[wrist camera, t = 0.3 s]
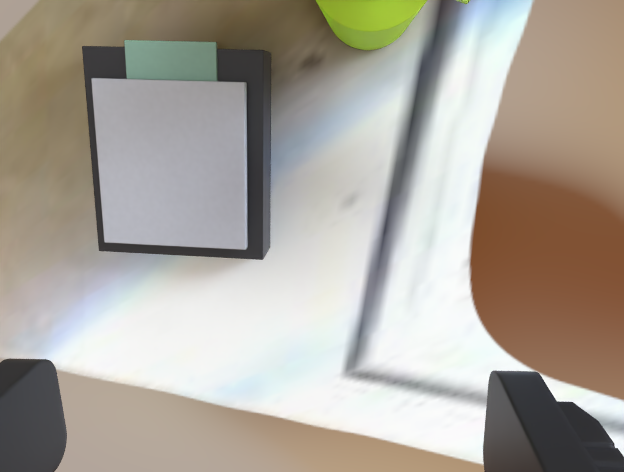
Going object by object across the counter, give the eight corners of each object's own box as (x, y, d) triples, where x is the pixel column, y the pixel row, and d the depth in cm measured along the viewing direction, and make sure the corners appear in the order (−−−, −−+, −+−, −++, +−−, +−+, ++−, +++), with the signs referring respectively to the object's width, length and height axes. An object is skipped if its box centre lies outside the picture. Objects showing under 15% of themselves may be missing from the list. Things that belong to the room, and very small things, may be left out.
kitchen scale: (102, 43, 38) (72, 38, 34) (271, 46, 37) (260, 41, 33) (116, 239, 42) (91, 255, 38) (270, 247, 41) (260, 264, 37)
